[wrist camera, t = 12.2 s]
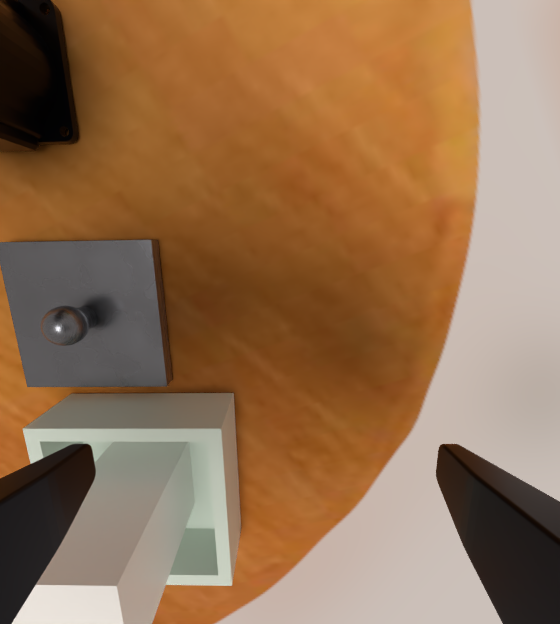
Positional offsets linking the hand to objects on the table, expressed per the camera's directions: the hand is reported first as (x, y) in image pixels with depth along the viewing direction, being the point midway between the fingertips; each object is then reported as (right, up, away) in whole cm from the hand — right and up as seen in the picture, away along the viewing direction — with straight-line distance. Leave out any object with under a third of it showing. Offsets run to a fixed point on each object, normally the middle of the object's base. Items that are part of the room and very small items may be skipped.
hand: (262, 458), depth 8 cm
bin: (-8, -7, +14) cm, 18 cm away
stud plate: (-11, +4, +12) cm, 17 cm away
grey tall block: (-8, -7, +13) cm, 17 cm away
